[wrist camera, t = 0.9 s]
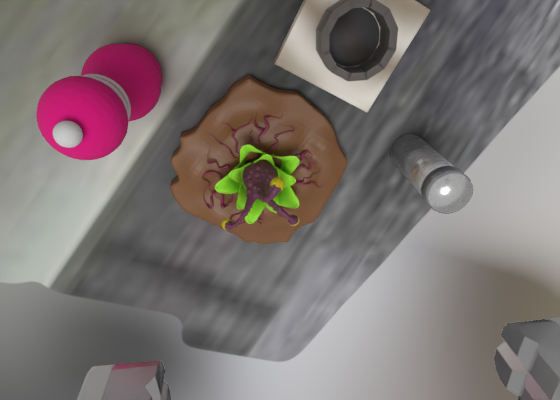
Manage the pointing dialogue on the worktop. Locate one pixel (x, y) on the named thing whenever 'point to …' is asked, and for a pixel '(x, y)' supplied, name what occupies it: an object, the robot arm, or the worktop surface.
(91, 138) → the pepper mill
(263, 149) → the plant
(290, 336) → the worktop surface
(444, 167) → the frosted cylinder in socket
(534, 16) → the worktop surface
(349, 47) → the duct board
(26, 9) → the worktop surface
